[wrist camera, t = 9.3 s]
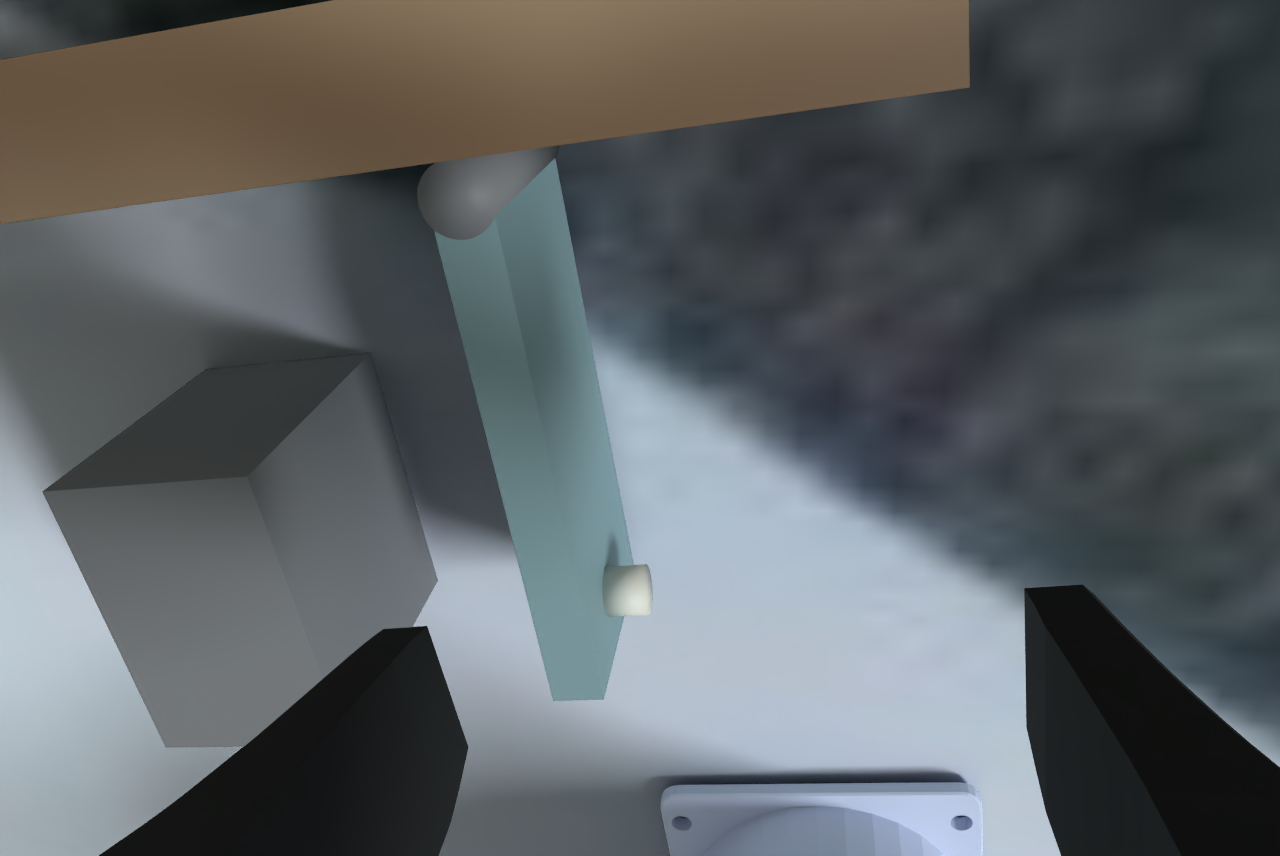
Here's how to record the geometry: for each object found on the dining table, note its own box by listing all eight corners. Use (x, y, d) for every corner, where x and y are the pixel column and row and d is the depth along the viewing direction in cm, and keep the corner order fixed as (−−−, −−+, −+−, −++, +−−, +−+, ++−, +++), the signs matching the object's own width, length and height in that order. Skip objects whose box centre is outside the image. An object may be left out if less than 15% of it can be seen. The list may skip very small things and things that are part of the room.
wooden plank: (907, 31, 17) (970, 87, 11) (-142, 192, 21) (-504, 295, 15) (903, -100, 16) (967, -113, 10) (-190, 96, 20) (-593, 166, 14)
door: (489, 114, 18) (408, 164, 14) (588, 99, 18) (532, 148, 14) (589, 571, 23) (547, 704, 19) (670, 566, 22) (644, 701, 18)
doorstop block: (438, 578, 24) (347, 745, 19) (289, 586, 25) (165, 747, 20) (371, 351, 21) (246, 476, 16) (207, 367, 22) (42, 491, 17)
